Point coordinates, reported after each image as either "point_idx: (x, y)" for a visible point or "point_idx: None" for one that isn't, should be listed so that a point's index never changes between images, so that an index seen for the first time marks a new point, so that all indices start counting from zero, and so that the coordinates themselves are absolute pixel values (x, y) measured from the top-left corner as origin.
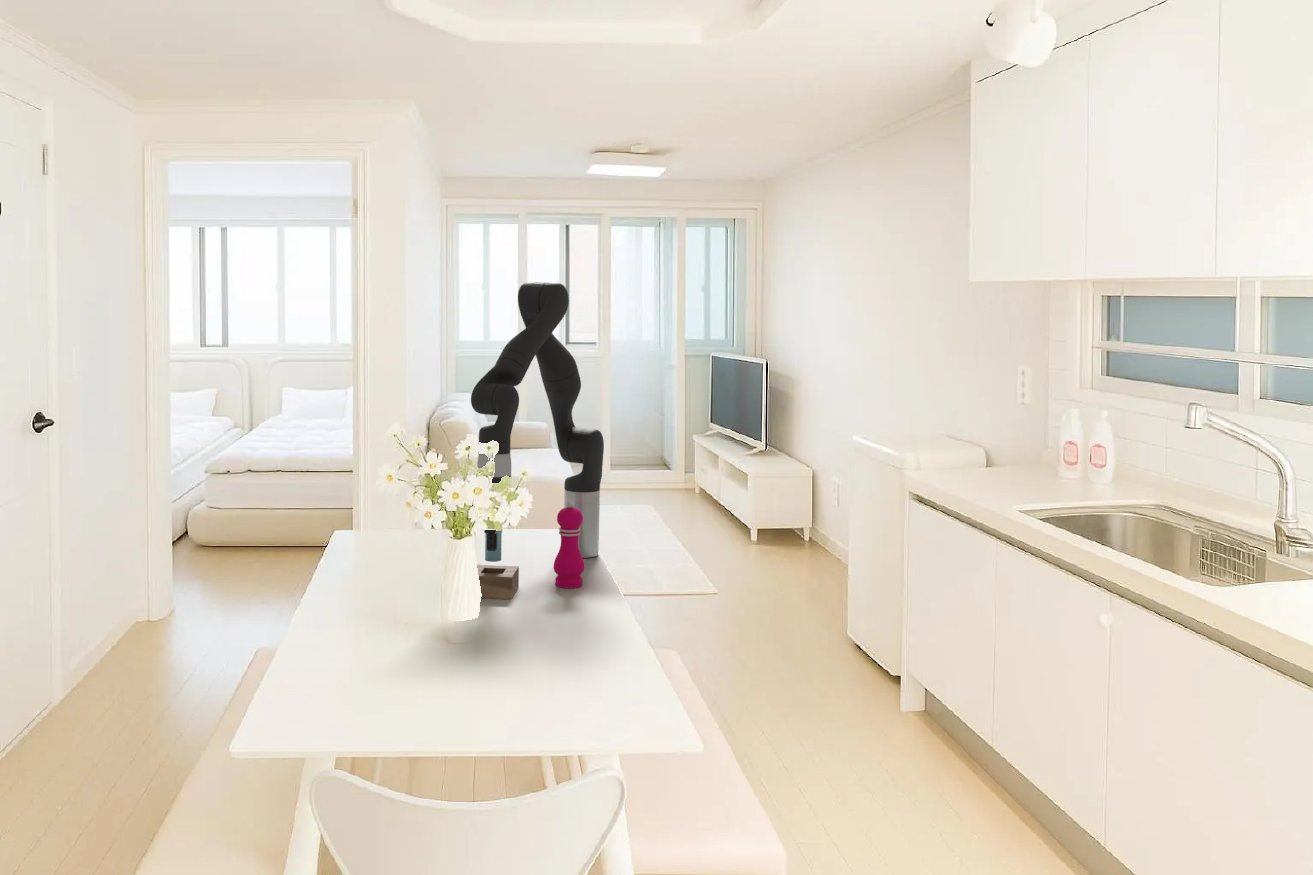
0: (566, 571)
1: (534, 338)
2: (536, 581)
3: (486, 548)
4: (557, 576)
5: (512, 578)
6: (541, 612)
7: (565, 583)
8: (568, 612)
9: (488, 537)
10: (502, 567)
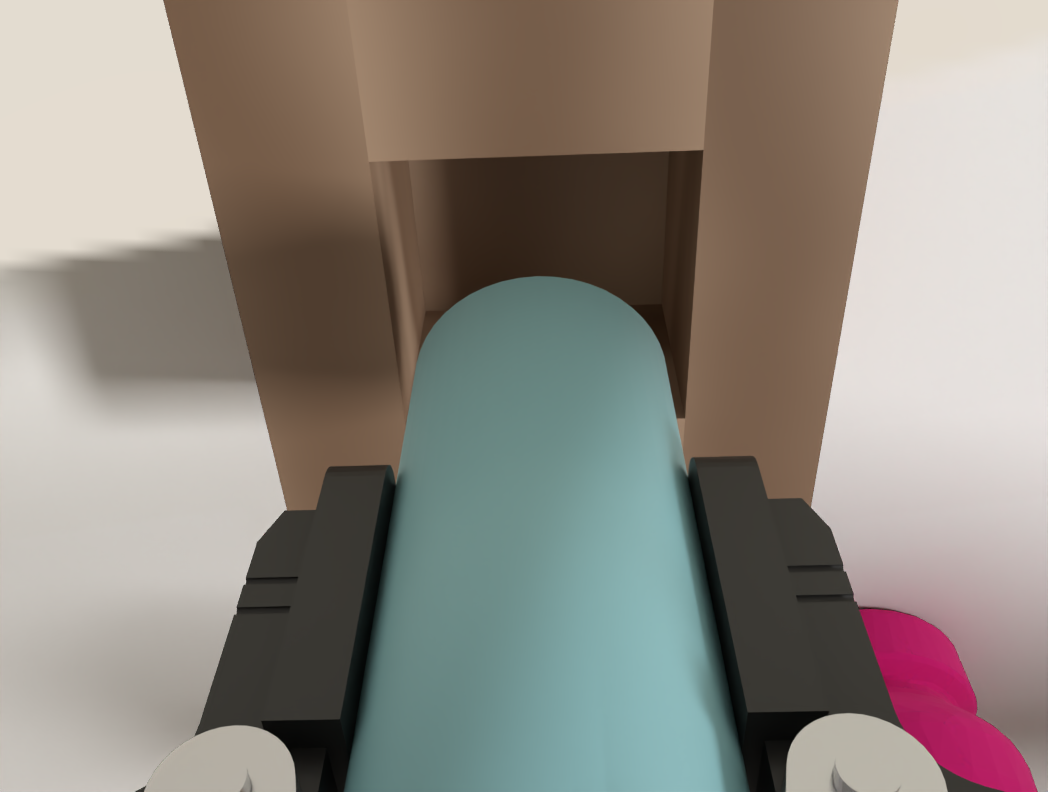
0: None
1: None
2: (990, 472)
3: (427, 441)
4: (884, 671)
5: None
6: (49, 617)
7: None
8: (128, 737)
9: (212, 705)
10: (740, 369)
